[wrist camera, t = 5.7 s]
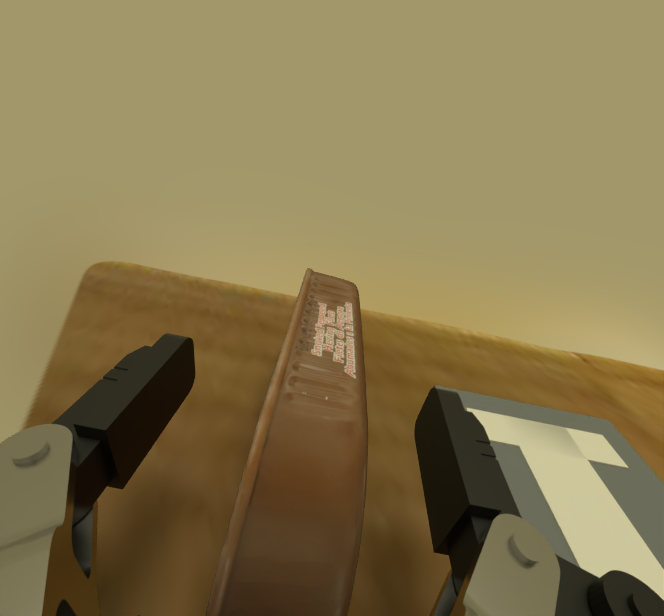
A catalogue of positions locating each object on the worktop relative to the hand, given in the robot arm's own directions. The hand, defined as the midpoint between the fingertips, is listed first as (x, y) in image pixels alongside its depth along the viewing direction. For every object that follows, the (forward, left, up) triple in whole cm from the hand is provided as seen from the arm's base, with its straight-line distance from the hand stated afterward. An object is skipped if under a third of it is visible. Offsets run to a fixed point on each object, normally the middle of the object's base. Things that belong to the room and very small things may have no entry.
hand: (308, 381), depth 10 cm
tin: (0, -1, -7) cm, 7 cm away
